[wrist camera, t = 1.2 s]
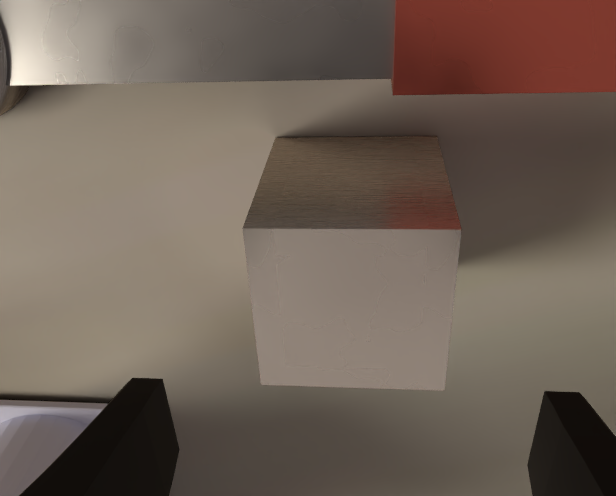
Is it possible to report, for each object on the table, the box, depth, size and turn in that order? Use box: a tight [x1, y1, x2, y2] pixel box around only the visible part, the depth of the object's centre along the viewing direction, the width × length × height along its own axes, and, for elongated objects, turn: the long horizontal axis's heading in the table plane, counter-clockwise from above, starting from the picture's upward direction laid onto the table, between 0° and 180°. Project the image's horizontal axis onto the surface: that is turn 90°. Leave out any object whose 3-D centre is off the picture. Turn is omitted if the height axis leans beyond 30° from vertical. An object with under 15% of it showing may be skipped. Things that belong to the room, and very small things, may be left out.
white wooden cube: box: [243, 136, 462, 391], centre depth 17 cm, size 5×5×6 cm
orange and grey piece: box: [0, 0, 616, 115], centre depth 14 cm, size 6×22×4 cm, turn 93°
